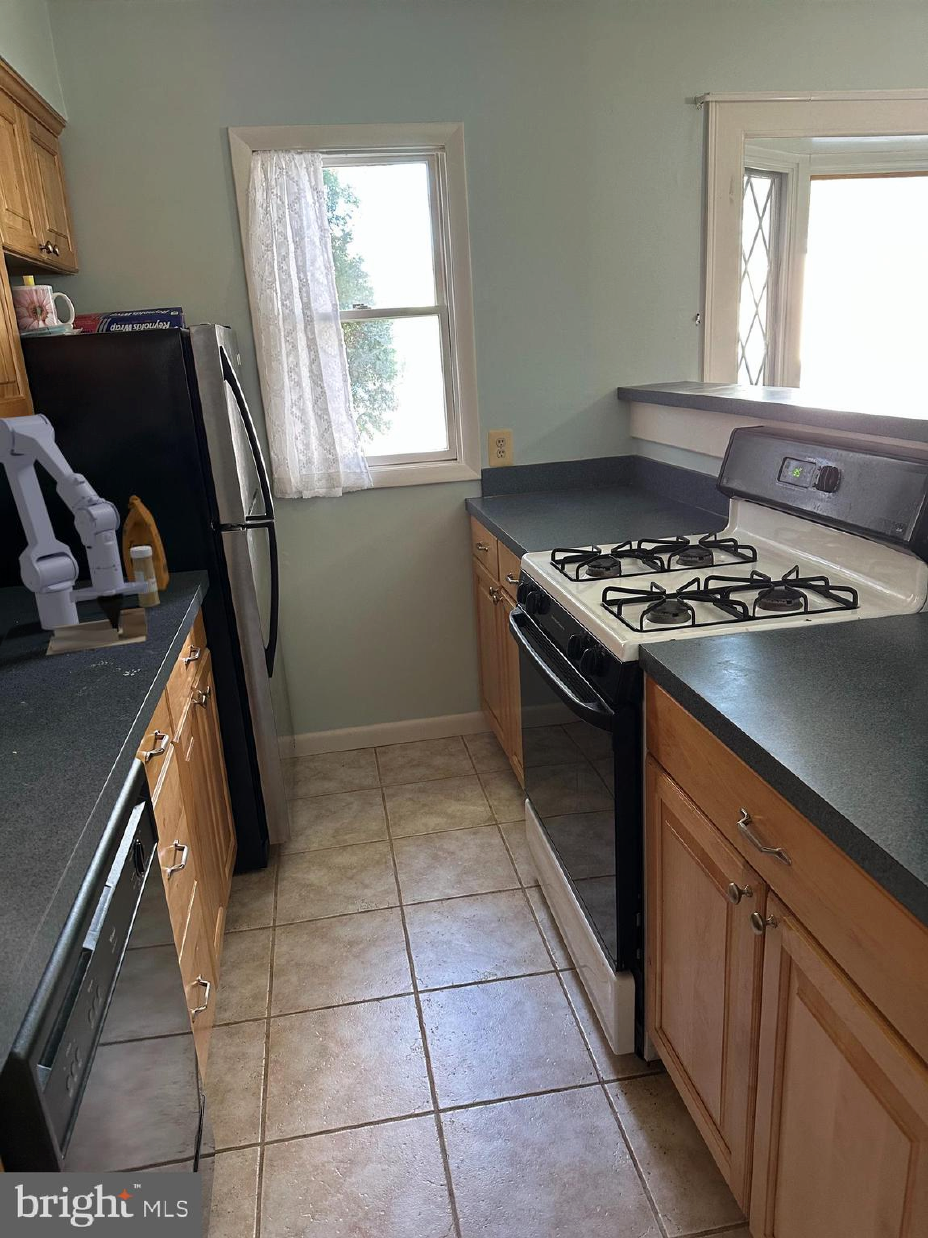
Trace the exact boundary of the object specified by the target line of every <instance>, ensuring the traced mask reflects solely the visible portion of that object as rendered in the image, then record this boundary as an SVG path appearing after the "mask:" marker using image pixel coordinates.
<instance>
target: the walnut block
mask: <svg viewBox="0 0 928 1238" xmlns="http://www.w3.org/2000/svg"><path fill="white" fill-rule="evenodd" d="M119 619H120V623H121V627H122V630H123V637H124V638H129V637H137V636H145V635H146V636H149V635H148V623H147V616H146V609H145V607H139V608H132V609H131V608H130V609H124V610H123V609H121V611H120V615H119Z"/></svg>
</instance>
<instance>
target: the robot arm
mask: <svg viewBox="0 0 928 1238" xmlns="http://www.w3.org/2000/svg"><path fill="white" fill-rule="evenodd" d="M54 429H55V428H54V427H53V426H52V423H51V422H50V420H49V419H48V418H47V416H45V415H44V414H42V413H37V414H34V415H25V416H15V417H0V463H1V464H3V466H4V469H5V472H6V473H5V474H6V476H7V480H8V482H9V485H10V489H11V492H12V495H13V499H14V501H15V505H16V507H17V512H18V515H19V518H20V521H21V524H22V527H23V530H24V533H25V537H26V541H27V543H28V545H27V547H26V548H25V549H24V550H23V551H22V553H21V554H20V556H19V557H18V560H19V564H20V577H21V580H22V582H23V584H24V585H25V587H26V588H27V589H28V590H30V591H31V592H33V593H34V596H35V600H36V606H37V609H38V615H39V619H40V620H39V621H40V625H41V629H43V630H46V631H47V630H48V631H54V629H53V628H54V627H58V626H65V625H72V624H79V623H80V622H79V617H78V612H77V606H76V603H77V602H81V601H87V600H95V599H96V600H97V605H98V607H99V608H100V609H101V611H102V612H103V614H104V615H105V616H106V618H107V620H109V621H110V623H111V625H112V628H113V629H117V633H119V628H120V625H119V619H120V614H121V611H122V606H123V603H124V600H125V599H124V597H125V596H128V595H135V594H137V595H138V593H149V587H148V582H133V583H129V582H125V581H124V576H123V571H122V564H121V559H120V553H119V546H118V540H117V536H116V530H118V529H119V527H120V523H121V521H120V520H121V519H120V513H119V512H118V509H117V508H116V506H115V505H114V503H113V502H110V501H107V500H105V498H103V497H101V498H100V496H99V495H98V494H97V492H96V491H95V490H94V489H93V487H92V486H91V484H90V483H89V481H88V480H87V479H86V477H84V475H83V474H81V473H75V472H74V471H73V469H72V468H71V466H70V465H69V463H68V462H67V460H66V459H65V457H64V455H63V454H62V452H61V450H60V449H59V447H58V445H57V444H56V443H55V436H56V435H55V430H54ZM36 460H37V462H39V463H40V464H41V466H42V467H43V468H44V469H45V470H46V471H47V473H49V474H50V476H51V477H52V478H53V479H54V480H55V481H56V482H57V483H56V493H58V495H59V496H60V498H61V500H62V501H63V502H64V503H65V505H66V506H67V508H68V509H69V510H70V511H71V512H72V514H73V515H74V521H73V523H74V527H75V529H76V531H77V532H78V534H79V536H80V539H81V543H82V545H83V546H85V551H86V555H87V561H88V566H89V572H90V578H91V583H92V586H90V587H86V588H79V589H75V590H73V586H75V585H76V583H75V581H76V580H77V579H78V576H79V566H78V562H77V560H76V559H75V558H74V556H73V554H72V552H71V549H70V546H68V545H67V544H65V543H63V542H61V541H60V540H58V539H56V537H55V536H56V535H55V533H54V529H53V526H52V522H51V520H50V517H49V514H48V510H47V506H46V504H45V500H44V497H43V493H42V491H41V487H40V484H39V480H38V477H37V473H36V470H35V467H34V464H35V461H36ZM48 555H51V556H48ZM44 556H46V557H44ZM41 557H42V558H41Z"/></svg>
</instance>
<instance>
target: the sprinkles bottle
mask: <svg viewBox="0 0 928 1238" xmlns="http://www.w3.org/2000/svg"><path fill="white" fill-rule="evenodd" d="M130 554H131V557H132V560H133V567H134V575H135V581H136V582H148V587H149V593H137V595H138V600H139V603H138V605H139V607H140V608H149V607H156V606H159V605H160V604H161V601H160V598H159V592H158V591H159V590H158V591H157V584H156V578H155V572H154V567H153V561H152V549H151V547H150V546H139V547H134V548H131V549H130Z"/></svg>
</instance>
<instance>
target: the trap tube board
mask: <svg viewBox="0 0 928 1238" xmlns="http://www.w3.org/2000/svg"><path fill="white" fill-rule="evenodd" d="M53 629H54V630H53V633H54V636H51V637H50V638H49V641H50V642H49V644H48V647H47V651H46V654H45V656H51V655H58V654H66V653H71V652H72V653H73V652H78V651H85V650H86V651H87V650H91V649H93V650H94V649H99V648H100V649H101V648H106V647H107V648H108V647H113V646H120V645H126V644H134V643H135V644H136V643H140V642H146V640H147V638H146V636H147V635H145V636H137V637H129V638H124V637H123V630H122V626H121V627H119V633H117V629H113V628H112V625H111V623H110V621H109V620H108V619H104V620H96V621H89V622H88V621H87V622H81V623H80V622H79V623H78V624H72V625H65V626H58V627H54V628H53Z"/></svg>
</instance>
